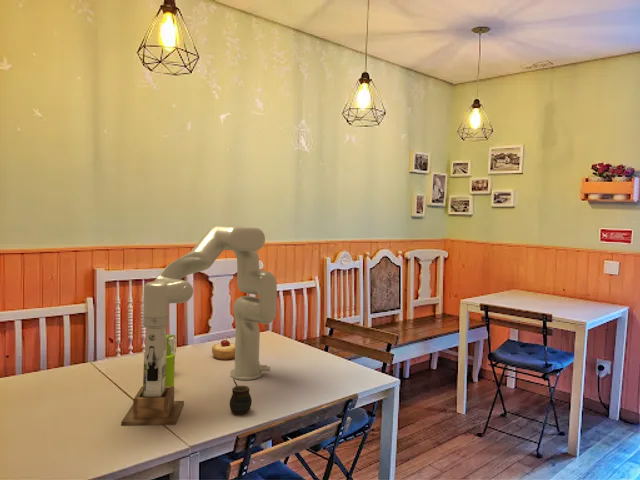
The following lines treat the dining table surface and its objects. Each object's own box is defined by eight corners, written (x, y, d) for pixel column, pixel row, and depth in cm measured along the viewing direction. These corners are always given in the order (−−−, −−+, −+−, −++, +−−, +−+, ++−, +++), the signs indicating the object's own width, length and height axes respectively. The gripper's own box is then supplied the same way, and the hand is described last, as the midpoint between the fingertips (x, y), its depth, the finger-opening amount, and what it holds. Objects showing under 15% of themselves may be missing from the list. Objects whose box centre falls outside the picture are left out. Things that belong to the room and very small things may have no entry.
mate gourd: (241, 418, 157) (242, 387, 157) (223, 412, 161) (224, 382, 160) (256, 410, 163) (256, 381, 163) (238, 405, 167) (238, 376, 167)
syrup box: (147, 390, 160) (148, 346, 159) (165, 390, 161) (166, 346, 160) (142, 397, 155) (143, 351, 154) (161, 397, 155) (162, 351, 154)
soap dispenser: (179, 388, 180) (180, 334, 179) (167, 395, 174) (168, 339, 172) (165, 385, 182) (166, 332, 181) (153, 392, 176) (154, 337, 174)
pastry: (206, 359, 216) (206, 339, 215) (221, 352, 227) (221, 333, 226) (230, 362, 212) (229, 342, 211) (244, 354, 223) (244, 335, 222)
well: (183, 403, 167) (184, 383, 166) (175, 424, 151) (176, 402, 151) (134, 403, 165) (135, 383, 165) (121, 425, 149) (121, 402, 149)
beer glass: (178, 372, 197) (179, 335, 196) (171, 378, 190) (172, 340, 189) (161, 371, 197) (162, 334, 196) (154, 377, 190) (154, 339, 189)
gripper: (162, 328, 148) (161, 387, 149) (172, 315, 165) (171, 368, 166) (136, 327, 147) (135, 387, 148) (149, 315, 164) (148, 368, 165)
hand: (154, 376), depth 157 cm, fingers closed on syrup box, 5 cm apart
